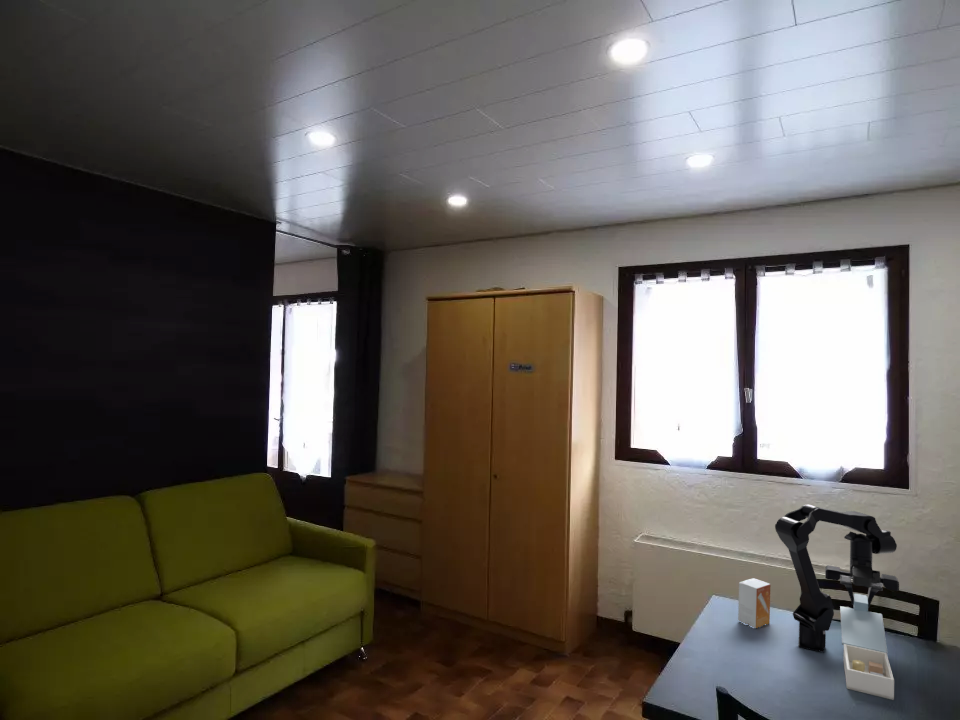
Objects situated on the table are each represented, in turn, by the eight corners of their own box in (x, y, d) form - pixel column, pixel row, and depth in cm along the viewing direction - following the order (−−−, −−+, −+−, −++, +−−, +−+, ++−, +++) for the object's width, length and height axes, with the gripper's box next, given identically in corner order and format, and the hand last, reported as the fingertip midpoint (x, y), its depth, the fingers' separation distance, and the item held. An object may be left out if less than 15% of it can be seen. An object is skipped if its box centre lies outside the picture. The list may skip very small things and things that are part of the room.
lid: (842, 644, 167) (842, 634, 166) (839, 600, 184) (840, 590, 183) (887, 654, 162) (888, 643, 161) (880, 608, 178) (881, 598, 178)
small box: (755, 629, 185) (756, 588, 185) (737, 622, 190) (738, 582, 191) (770, 624, 190) (771, 583, 190) (752, 616, 195) (752, 577, 195)
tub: (846, 688, 152) (847, 669, 152) (843, 661, 166) (843, 643, 166) (893, 700, 147) (894, 680, 147) (886, 671, 161) (886, 653, 161)
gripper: (826, 556, 177) (825, 608, 177) (902, 568, 168) (901, 622, 168) (825, 546, 187) (824, 595, 187) (897, 557, 177) (896, 608, 177)
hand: (860, 605), depth 179 cm, fingers closed on lid, 3 cm apart
